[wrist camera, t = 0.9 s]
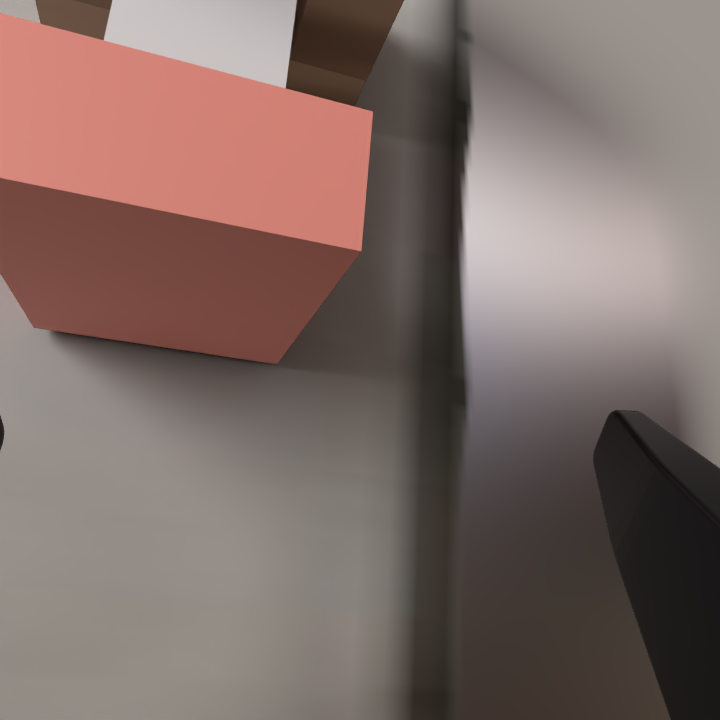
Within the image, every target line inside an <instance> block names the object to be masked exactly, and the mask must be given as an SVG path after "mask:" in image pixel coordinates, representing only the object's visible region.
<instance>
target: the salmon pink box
mask: <svg viewBox="0 0 720 720" xmlns="http://www.w3.org/2000/svg"><path fill="white" fill-rule="evenodd" d="M296 3H297V0H112V5H111V9H110V14H109V18H108V23H107V27H106V32H105V36H104V40H100V39H96V38H93V37H89V36H85V35H81V34H77V33H74V32H70V31H66V30H62V29H58V28H55V27H51V26H47V25H43V24H39V23H36V22H32V21H28V20H24V19H20V18H17V17H13V16H9V15H5V14H2V13H0V274H1V275H2V277H3V278H4V280H5V282H6V283H7V285H8V286H9V288H10V290H11V291H12V293H13V295H14V296H15V298H16V299H17V301H18V303H19V304H20V306H21V308H22V309H23V311H24V312H25V314H26V316H27V317H28V319H29V320H30V322H31V324H32V325H33V327H34V328H39V329H46V330H53V331H59V332H66V333H72V334H79V335H86V336H92V337H99V338H106V339H112V340H119V341H126V342H132V343H139V344H146V345H152V346H159V347H166V348H172V349H179V350H186V351H192V352H199V353H205V354H212V355H219V356H225V357H232V358H239V359H245V360H252V361H259V362H265V363H272V364H278V362H279V361H280V360H281V358H282V357H283V356H284V354H285V353H286V352H287V350H288V349H289V348H290V346H291V345H292V343H293V342H294V341H295V339H296V338H297V337H298V335H299V334H300V333H301V331H302V330H303V329H304V327H305V326H306V325H307V323H308V322H309V321H310V319H311V318H312V317H313V315H314V314H315V313H316V311H317V310H318V309H319V307H320V306H321V305H322V303H323V302H324V301H325V299H326V298H327V297H328V295H329V294H330V293H331V291H332V290H333V289H334V287H335V286H336V285H337V283H338V282H339V281H340V279H341V278H342V277H343V275H344V274H345V273H346V271H347V270H348V269H349V267H350V266H351V265H352V263H353V262H354V260H355V259H356V258H357V256H358V255H359V254H360V252H361V250H362V238H363V226H364V214H365V202H366V190H367V178H368V166H369V155H370V143H371V131H372V119H373V111H369V110H366V109H362V108H358V107H354V106H350V105H347V104H343V103H339V102H335V101H331V100H328V99H324V98H320V97H316V96H312V95H309V94H305V93H301V92H297V91H293V90H290V89H286V81H287V73H288V66H289V58H290V50H291V42H292V34H293V26H294V19H295V11H296Z"/></svg>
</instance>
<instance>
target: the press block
mask: <svg viewBox="0 0 720 720" xmlns="http://www.w3.org/2000/svg"><path fill="white" fill-rule="evenodd" d="M35 1H36V5H37V9H38V14H39V18H40V22H41V24H43V25H47V26H51V27H55V28H58V29H62V30H66V31H70V32H74V33H77V34H81V35H85V36H89V37H93V38H96V39H100V40H104V36H105V32H106V27H107V23H108V18H109V14H110V9H111V5H112V0H35ZM403 1H404V0H297V3H296V11H295V19H294V26H293V34H292V42H291V50H290V58H289V66H288V73H287V81H286V89H290V90H293V91H297V92H301V93H305V94H309V95H312V96H316V97H320V98H324V99H328V100H331V101H335V102H339V103H343V104H347V105H350V106H354V105H355V103H356V101H357V99H358V97H359V95H360V93H361V90H362V88H363V86H364V84H365V82H366V80H367V78H368V76H369V74H370V71H371V69H372V67H373V65H374V63H375V61H376V59H377V57H378V54H379V52H380V50H381V48H382V46H383V44H384V42H385V40H386V37H387V35H388V33H389V31H390V29H391V27H392V25H393V23H394V20H395V18H396V16H397V14H398V12H399V10H400V8H401V6H402V4H403Z"/></svg>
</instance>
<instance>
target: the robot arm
mask: <svg viewBox="0 0 720 720" xmlns="http://www.w3.org/2000/svg"><path fill="white" fill-rule="evenodd" d="M3 440H4V426H3V423H2V419H1V416H0V450H1V447H2V444H3ZM593 462H594V469H595V473H596V478H597V482H598V487H599V491H600V496H601V500H602V504H603V509H604V514H605V518H606V523H607V527H608V531H609V536H610V540H611V544H612V548H613V552H614V556H615V559H616V562H617V565H618V568H619V571H620V574H621V577H622V580H623V583H624V586H625V588H626V591H627V594H628V597H629V600H630V603H631V606H632V609H633V612H634V615H635V618H636V620H637V623H638V626H639V629H640V632H641V635H642V638H643V641H644V643H645V646H646V649H647V652H648V655H649V658H650V661H651V664H652V667H653V669H654V672H655V675H656V678H657V681H658V684H659V687H660V690H661V693H662V695H663V698H664V701H665V704H666V707H667V710H668V713H669V716H670V718H671V720H720V468H718V467H717V466H716V465H714V464H713V463H712V462H710V461H709V460H707V459H706V458H705V457H703V456H702V455H700V454H699V453H698V452H696V451H695V450H694V449H692V448H691V447H689V446H688V445H686V444H685V443H684V442H682V441H681V440H680V439H678V438H677V437H675V436H674V435H673V434H671V433H670V432H668V431H667V430H666V429H664V428H663V427H661V426H660V425H659V424H657V423H656V422H654V421H653V420H652V419H650V418H649V417H647V416H646V415H644V414H643V413H641V412H639V411H625V410H615V411H613V412H611V413H610V414H609V416H608V417H607V419H606V422H605V424H604V427H603V429H602V432H601V435H600V437H599V439H598V442H597V444H596V447H595V450H594V456H593Z"/></svg>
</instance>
